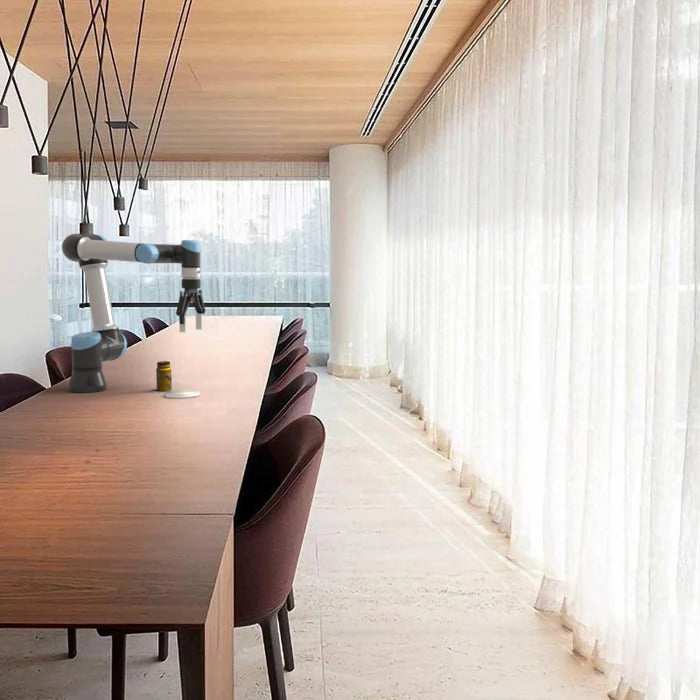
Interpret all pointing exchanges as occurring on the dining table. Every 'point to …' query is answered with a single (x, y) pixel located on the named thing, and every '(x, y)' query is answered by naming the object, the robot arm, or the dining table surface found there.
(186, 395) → the plate
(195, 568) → the dining table surface
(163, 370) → the condiment
